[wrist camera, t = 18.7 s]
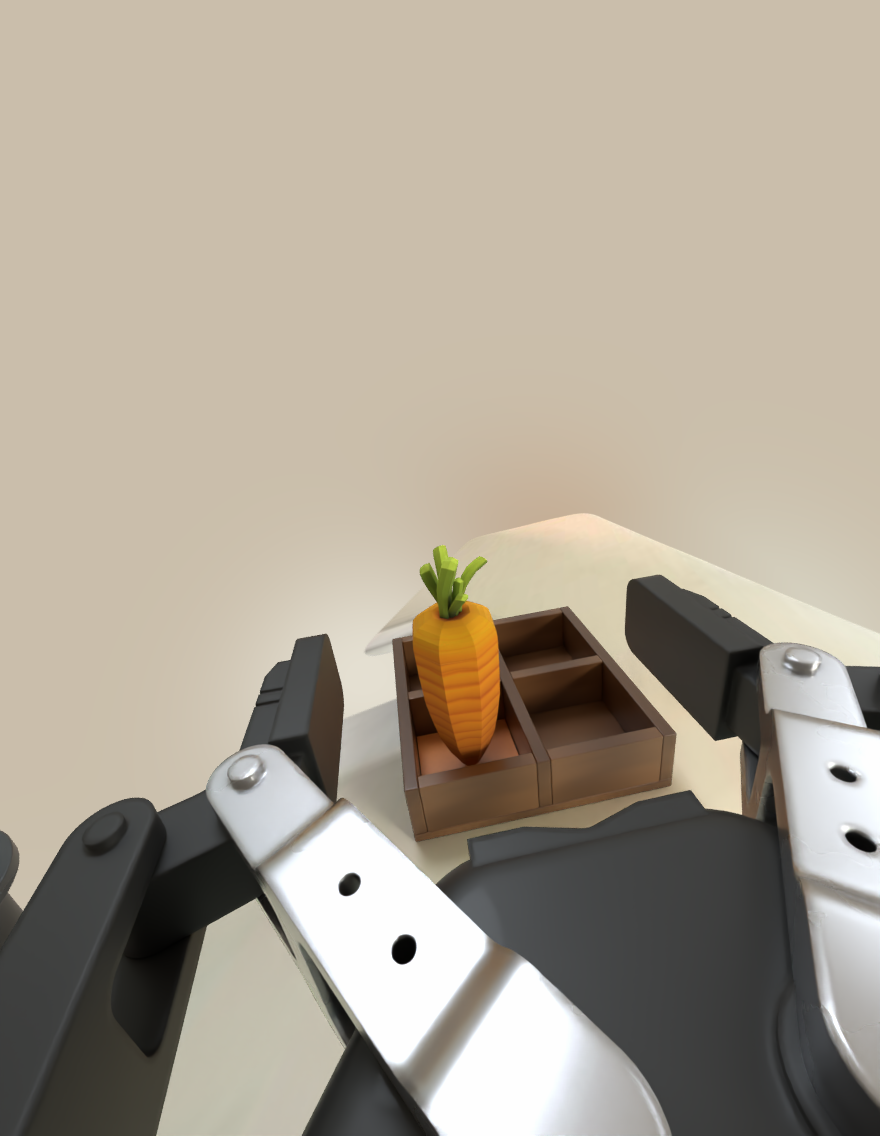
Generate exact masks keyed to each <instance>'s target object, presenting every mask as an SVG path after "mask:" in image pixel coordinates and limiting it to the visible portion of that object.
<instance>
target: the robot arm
mask: <svg viewBox="0 0 880 1136" xmlns="http://www.w3.org/2000/svg"><path fill="white" fill-rule="evenodd" d="M625 636H626V640H627V643H628V646H629V648H630V650H631V651H632V652H633V654H634V655H635V656H636V657H637V658H638V659H639V660H640V661H641V662H642V663H643V664H644V665H645V667H646V668H647V669H648V670H649V671H650V672H651V673H652V674H653V675H654V676H655V677H656V678H657V679H658V680H659V681H660V683H661V684H662V685H663V686H664V687H665V688H666V689H667V690H668V691H669V692H670V693H671V694H672V695H673V696H674V697H675V699H676V700H677V701H678V702H679V703H680V704H681V705H682V706H683V707H684V708H685V709H686V710H687V711H688V712H689V714H690V715H691V716H692V717H693V718H694V719H695V720H696V721H697V722H698V723H699V724H700V725H701V726H702V727H703V728H704V730H705V731H706V732H707V733H708V734H709V735H710V736H711V737H712V738H713V739H714V740H715V741H717V740H722V739H727V738H731V737H736V736H738V737H739V738H740V739H741V740H742V746H741V751H740V764H741V792H742V815H740V814H736V813H731V812H727V811H721V810H713V809H705V808H704V807H703V806H702V804H701V803H700V802H699V800H698V799H697V798H696V797H695V795H694V794H693V793H692V791H691V790H688V791H684V792H679V793H675V794H670V795H666V796H661V797H657V798H652V799H648V800H643V801H638V802H636V803H634V804H632V805H630V806H629V807H627V808H625V809H623V810H621V811H619V812H618V813H616V814H614V815H612V816H610V817H608V818H607V819H605V820H603V821H601V822H599V823H597V824H596V825H594V826H591V827H589V828H548V827H520V828H516V829H511V830H507V831H502V832H498V833H493V834H489V835H484V836H480V837H475V838H471V839H467V842H468V849H469V856H470V860H468V861H466V862H464V863H462V864H461V865H459V866H458V867H456V868H455V869H453V870H452V871H451V872H449V873H448V874H447V875H445V876H444V877H443V878H442V879H441V880H440V881H439V882H438V883H437V884H436V885H435V884H434V883H433V882H432V881H431V880H430V879H429V878H428V877H427V876H426V875H425V874H424V873H423V872H421V871H420V870H419V869H418V868H417V867H416V866H415V865H414V864H413V863H412V862H411V861H410V860H409V859H408V858H407V857H406V856H405V855H404V854H403V853H402V852H401V851H400V850H399V849H398V848H397V847H396V846H395V845H394V844H393V843H392V842H391V841H390V840H389V839H388V838H387V837H386V836H385V835H384V834H383V833H382V832H380V831H379V830H378V829H377V828H376V827H375V826H374V825H373V824H372V823H371V822H370V821H369V820H368V819H367V818H366V817H365V816H364V815H363V814H362V813H361V812H360V811H359V810H358V809H357V808H356V807H355V806H354V805H353V804H352V803H350V802H349V801H348V800H346V799H344V798H340V799H339V800H338V801H337V802H336V800H337V787H338V775H339V762H340V749H341V737H342V724H343V711H344V698H343V690H342V685H341V681H340V677H339V673H338V669H337V665H336V662H335V658H334V654H333V650H332V646H331V643H330V639H329V637H328V635H327V634H322V635H317V636H311V637H306V638H300V639H297V640H296V643H295V646H294V650H293V653H292V657H291V660H288V661H283V662H278V663H277V664H276V665H275V666H274V667H273V668H272V670H271V671H270V672H269V673H268V674H267V675H266V676H265V678H264V681H263V684H262V687H261V690H260V695H259V696H258V699H257V701H256V707H255V708H254V710H253V713H252V716H251V719H250V722H249V725H248V727H247V730H246V733H245V736H244V739H243V742H242V745H241V748H240V750H239V751H238V752H236V753H235V754H233V755H231V756H230V757H228V758H227V759H226V760H224V761H223V762H222V763H221V764H220V765H219V766H218V767H217V768H216V769H215V771H214V772H213V773H212V775H211V776H210V778H209V780H208V783H207V786H206V790H204V791H202V792H201V793H199V794H197V795H195V796H193V797H190V798H188V799H186V800H184V801H181V802H179V803H177V804H175V805H172V806H170V807H168V808H166V809H164V810H161V811H159V812H157V811H156V809H155V808H154V806H153V804H152V803H151V802H150V801H149V800H147V799H144V798H129V799H124V800H121V801H118V802H116V803H113V804H111V805H109V806H107V807H105V808H103V809H101V810H99V811H98V812H96V813H94V814H93V815H92V816H90V817H89V818H88V819H86V820H85V821H84V822H83V823H81V824H80V825H79V826H78V827H77V828H76V829H75V830H74V831H73V832H72V833H71V834H70V836H69V837H68V838H67V839H66V841H65V842H64V844H63V845H62V847H61V848H60V850H59V852H58V853H57V855H56V857H55V858H54V860H53V862H52V864H51V865H50V867H49V869H48V870H47V872H46V874H45V875H44V877H43V879H42V880H41V882H40V884H39V885H38V887H37V889H36V890H35V892H34V894H33V895H32V897H31V899H30V901H29V902H28V904H27V906H26V907H25V909H24V911H23V912H22V914H21V916H20V917H19V919H18V921H17V922H16V924H15V926H14V928H13V929H12V931H11V933H10V934H9V936H8V938H7V939H6V941H5V943H4V944H3V946H2V948H1V949H0V1136H156V1134H157V1130H158V1126H159V1121H160V1117H161V1113H162V1109H163V1105H164V1101H165V1097H166V1092H167V1088H168V1084H169V1080H170V1076H171V1072H172V1068H173V1064H174V1059H175V1055H176V1051H177V1047H178V1043H179V1039H180V1035H181V1031H182V1026H183V1022H184V1018H185V1014H186V1010H187V1006H188V1002H189V998H190V993H191V989H192V985H193V981H194V977H195V973H196V969H197V964H198V960H199V956H200V952H201V948H202V944H203V940H204V936H205V931H206V927H207V925H209V924H210V923H212V922H214V921H216V920H218V919H220V918H221V917H223V916H225V915H227V914H229V913H230V912H232V911H234V910H236V909H238V908H239V907H241V906H243V905H245V904H247V903H248V902H250V901H252V900H254V899H256V901H257V902H258V904H259V905H260V907H261V909H262V910H263V912H264V914H265V915H266V917H267V918H268V920H269V922H270V923H271V925H272V927H273V928H274V930H275V932H276V933H277V935H278V936H279V938H280V940H281V941H282V943H283V945H284V946H285V948H286V949H287V951H288V953H289V954H290V956H291V958H292V959H293V961H294V963H295V964H296V966H297V967H298V969H299V971H300V972H301V974H302V976H303V978H304V979H305V981H306V983H307V985H308V986H309V988H310V990H311V992H312V994H313V996H314V998H315V1000H316V1001H317V1003H318V1005H319V1007H320V1009H321V1010H322V1012H323V1014H324V1016H325V1017H326V1019H327V1021H328V1023H329V1024H330V1026H331V1028H332V1029H333V1031H334V1033H335V1034H336V1036H337V1037H338V1039H339V1041H340V1042H341V1044H342V1046H343V1047H344V1049H345V1051H344V1053H343V1055H342V1057H341V1059H340V1061H339V1063H338V1065H337V1067H336V1069H335V1071H334V1073H333V1075H332V1077H331V1079H330V1080H329V1082H328V1084H327V1086H326V1088H325V1090H324V1092H323V1094H322V1096H321V1098H320V1100H319V1102H318V1104H317V1106H316V1108H315V1110H314V1112H313V1114H312V1116H311V1118H310V1120H309V1122H308V1124H307V1126H306V1128H305V1130H304V1132H303V1134H302V1136H880V667H864V666H845V665H844V664H843V663H842V662H841V661H840V660H838V659H837V658H836V657H834V656H833V655H831V654H829V653H827V652H825V651H823V650H820V649H817V648H814V647H811V646H807V645H803V644H797V643H773V642H771V641H770V640H768V639H767V638H765V637H764V636H762V635H761V634H759V633H758V632H756V631H755V630H753V629H752V628H750V627H749V626H747V625H746V624H744V623H743V622H741V621H740V620H738V619H737V618H735V617H732V616H731V614H729V613H728V612H726V611H725V610H723V609H719V606H717V605H716V604H714V603H713V602H711V601H710V600H709V599H707V598H706V597H704V596H702V595H699V594H696V593H693V592H691V591H688V590H685V589H681V588H679V587H678V586H677V585H675V584H674V583H672V582H671V581H669V580H668V579H666V578H665V577H664V576H662V575H654V576H648V577H643V578H637V579H632V580H630V581H629V583H628V586H627V597H626V617H625Z"/></svg>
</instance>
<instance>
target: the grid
mask: <svg viewBox="0 0 880 1136" xmlns="http://www.w3.org/2000/svg"><path fill="white" fill-rule="evenodd" d="M493 623H494V626H495V629H496V632H497V637H498V651H499V671H500V697H499V706H498V714H497V720H496V726H495V731H494V734H493V736H492V739H491V741H490V744H489V746H488V748H487V750H486V751H485V753H484V755H483V756H482V758H481V760H480V761H479V762H478V763H477V764H476V765H471V766H467V765H465V764H463V763H462V762H461V761H460V760H459V759H458V758H457V757H456V756H455V755H453V754H452V753H451V752H450V750H449V749H448V748H447V746H446V745H445V744H444V742H443V741H442V740H441V738H440V736H439V734H438V731H437V729H436V727H435V725H434V723H433V721H432V718H431V716H430V713H429V711H428V708H427V706H426V703H425V699H424V695H423V691H422V687H421V683H420V679H419V674H418V669H417V665H416V660H415V655H414V651H413V635H412V636H407V637H402V638H396V639H393V640H392V642H393V654H394V668H395V679H396V692H397V706H398V719H399V731H400V744H401V757H402V770H403V782H404V793H405V797H406V801H407V806H408V810H409V815H410V819H411V823H412V828H413V832H414V837H415V841H416V842H418V841H422V840H427V839H431V838H436V837H440V836H445V835H450V834H454V833H459V832H463V831H468V830H472V829H477V828H481V827H486V826H490V825H495V824H499V823H504V822H508V821H513V820H517V819H522V818H526V817H531V816H535V815H540V814H545V813H549V812H554V811H558V810H563V809H567V808H572V807H576V806H581V805H585V804H590V803H594V802H599V801H603V800H608V799H612V798H617V797H621V796H626V795H630V794H635V793H640V792H644V791H649V790H653V789H658V788H662V787H667V786H671V782H672V772H673V762H674V753H675V743H676V732H675V731H674V730H673V729H672V728H671V726H670V725H669V724H668V723H667V722H666V721H665V719H664V718H663V717H662V716H661V715H660V714H659V712H658V711H657V710H656V709H655V708H654V707H653V705H652V704H651V703H650V702H649V701H648V700H647V698H646V697H645V696H644V695H643V694H642V692H641V691H640V690H639V689H638V688H637V687H636V685H635V684H634V683H633V682H632V681H631V680H630V678H629V677H628V676H627V675H626V674H625V673H624V671H623V670H622V669H621V668H620V667H619V666H618V664H617V663H616V662H615V661H614V660H613V658H612V657H611V656H610V655H609V654H608V653H607V651H606V650H605V649H604V648H603V647H602V646H601V644H600V643H599V642H598V641H597V640H596V639H595V637H594V636H593V635H592V634H591V633H590V632H589V630H588V629H587V628H586V627H585V626H584V625H583V623H582V622H581V621H580V620H579V619H578V617H577V616H576V615H575V614H574V613H573V612H572V610H571V609H570V608H569V607H568V606H567V607H562V608H560V609H559V608H557V609H551V610H546V611H541V612H535V613H530V614H524V615H519V616H514V617H508V618H503V619H498V620H493Z"/></svg>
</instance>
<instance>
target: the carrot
mask: <svg viewBox="0 0 880 1136" xmlns="http://www.w3.org/2000/svg"><path fill="white" fill-rule="evenodd" d="M433 556H434V560H435V565H436V570H437V575H438V579H437V577H436V575H435V573H434V571H433V569H432V567H431V565H430V563H428V564H425V565H423V566H422V567H421V568H420V576H421V577H422V580H423V582H424V583H425V585H426V587H427V588H428V590H429V591H430V593H431V594H432V596H433V597H434V599H435V600H436V601H437V603H435V604H434V605H432V606H430V607H429V608H427V609H426V610H424V611H423V612H421V613H420V614H418V615H417V616H416V617H415V619H414V620H413V651H414V655H415V660H416V665H417V669H418V674H419V679H420V683H421V687H422V691H423V695H424V699H425V703H426V706H427V708H428V711H429V713H430V716H431V718H432V721H433V723H434V725H435V727H436V729H437V731H438V734H439V736H440V738H441V740H442V741H443V742H444V744H445V745H446V746H447V748H448V749H449V750H450V752H451V753H452V754H453V755H455V756H456V757H457V758H458V759H459V760H460V761H461V762H462V763H463V764H465V765H467V766H471V765H476V764H477V763H478V762H479V761H480V760H481V758H482V756H483V755H484V753H485V751H486V750H487V748H488V746H489V744H490V741H491V739H492V736H493V734H494V731H495V726H496V720H497V714H498V706H499V697H500V671H499V651H498V637H497V632H496V629H495V626H494V623H493V620H492V617H491V614H490V612H489V609H488V608H486V607H484V606H483V605H480V604H476V603H473V602H469V601H466V600H467V599H468V595H466V594H464V593H465V589H466V587H467V585H468V583H469V581H470V580H471V578H472V577H473V575H474V574H475V572H476V571H478V570H479V569H480V568H481V567H482V566H483V565H484V564H486V563H487V560H486V559H485V558H483V557H480V556H479V557H478V558H476V559H475V560H474V561H472V562H471V563H470V564H469V565H468V566H467V567H466V569H465V571H464V572H463V574H462V576H461V578H456V579H455V575H456V570H457V566H458V560H456V559H455V558H453V557H448V554H447V550H446V546H443V545H442V546H438V547H436V548H435V549H434V550H433ZM454 579H455V580H454ZM452 586H453V592H452Z"/></svg>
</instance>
